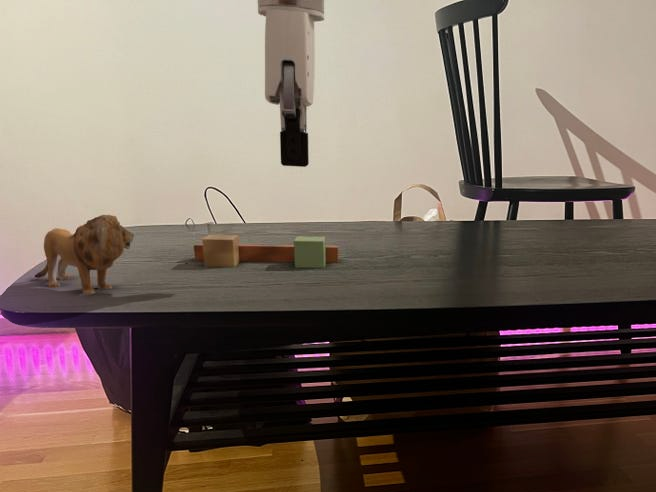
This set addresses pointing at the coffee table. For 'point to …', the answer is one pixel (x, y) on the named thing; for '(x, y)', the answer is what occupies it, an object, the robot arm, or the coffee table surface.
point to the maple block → (221, 250)
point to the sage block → (310, 252)
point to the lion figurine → (86, 250)
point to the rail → (269, 253)
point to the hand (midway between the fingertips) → (294, 165)
